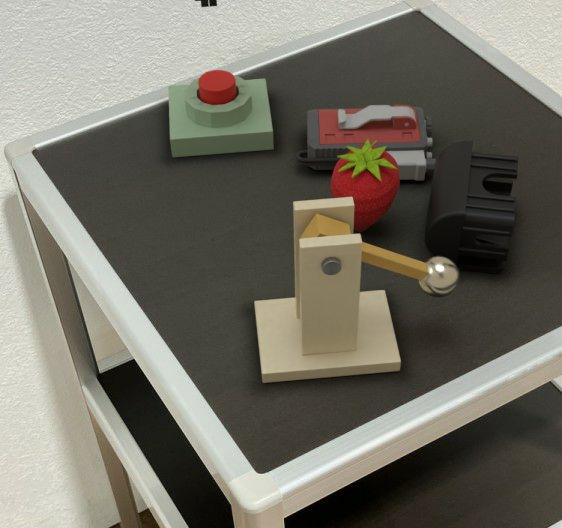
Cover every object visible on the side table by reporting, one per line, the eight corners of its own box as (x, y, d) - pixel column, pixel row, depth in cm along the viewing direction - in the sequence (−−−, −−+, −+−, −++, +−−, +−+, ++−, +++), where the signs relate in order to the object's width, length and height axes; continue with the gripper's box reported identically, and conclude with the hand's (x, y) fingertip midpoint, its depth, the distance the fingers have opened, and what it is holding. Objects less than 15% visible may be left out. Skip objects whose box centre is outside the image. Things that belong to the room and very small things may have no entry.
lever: (440, 281, 78) (463, 254, 75) (448, 310, 75) (472, 283, 73) (297, 235, 72) (318, 204, 70) (302, 264, 70) (323, 234, 68)
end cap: (431, 195, 90) (438, 135, 85) (508, 203, 89) (520, 143, 84) (420, 269, 84) (427, 209, 79) (502, 278, 83) (515, 219, 78)
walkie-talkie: (296, 187, 92) (508, 182, 91) (295, 149, 88) (515, 144, 88) (295, 130, 97) (495, 126, 97) (294, 92, 94) (501, 87, 93)
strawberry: (403, 207, 89) (411, 116, 82) (385, 262, 85) (393, 171, 77) (341, 197, 91) (343, 106, 83) (320, 250, 86) (321, 159, 78)
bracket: (384, 299, 82) (393, 179, 72) (400, 371, 77) (412, 253, 67) (254, 310, 82) (246, 191, 72) (262, 383, 76) (254, 266, 67)
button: (235, 83, 96) (234, 68, 95) (237, 104, 94) (236, 89, 93) (199, 86, 96) (197, 71, 95) (200, 107, 94) (198, 92, 93)
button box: (266, 96, 101) (264, 62, 98) (273, 149, 95) (272, 115, 92) (170, 103, 101) (166, 70, 98) (172, 157, 95) (167, 123, 92)
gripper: (103, -184, 72) (135, 29, 85) (281, -195, 72) (285, 19, 86) (106, -222, 76) (136, -14, 90) (272, -232, 77) (277, -24, 90)
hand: (209, 2), depth 88 cm, fingers closed
